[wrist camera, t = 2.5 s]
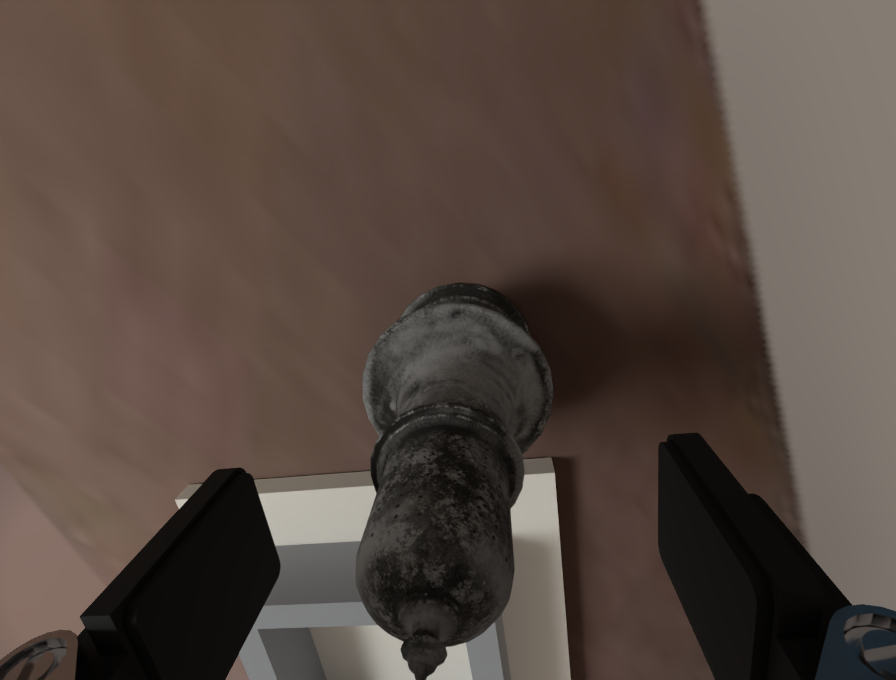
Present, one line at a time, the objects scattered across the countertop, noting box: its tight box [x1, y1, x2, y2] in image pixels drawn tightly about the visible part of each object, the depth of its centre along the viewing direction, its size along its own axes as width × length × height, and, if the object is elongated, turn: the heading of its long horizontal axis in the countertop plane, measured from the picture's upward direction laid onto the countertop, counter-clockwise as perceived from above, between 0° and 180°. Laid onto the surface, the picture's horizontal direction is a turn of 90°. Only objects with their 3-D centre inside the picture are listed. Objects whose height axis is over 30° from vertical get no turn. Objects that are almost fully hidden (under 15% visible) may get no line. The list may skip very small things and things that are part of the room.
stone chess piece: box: [355, 283, 554, 680], centre depth 12 cm, size 6×6×12 cm
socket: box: [175, 457, 571, 680], centre depth 21 cm, size 16×16×4 cm
